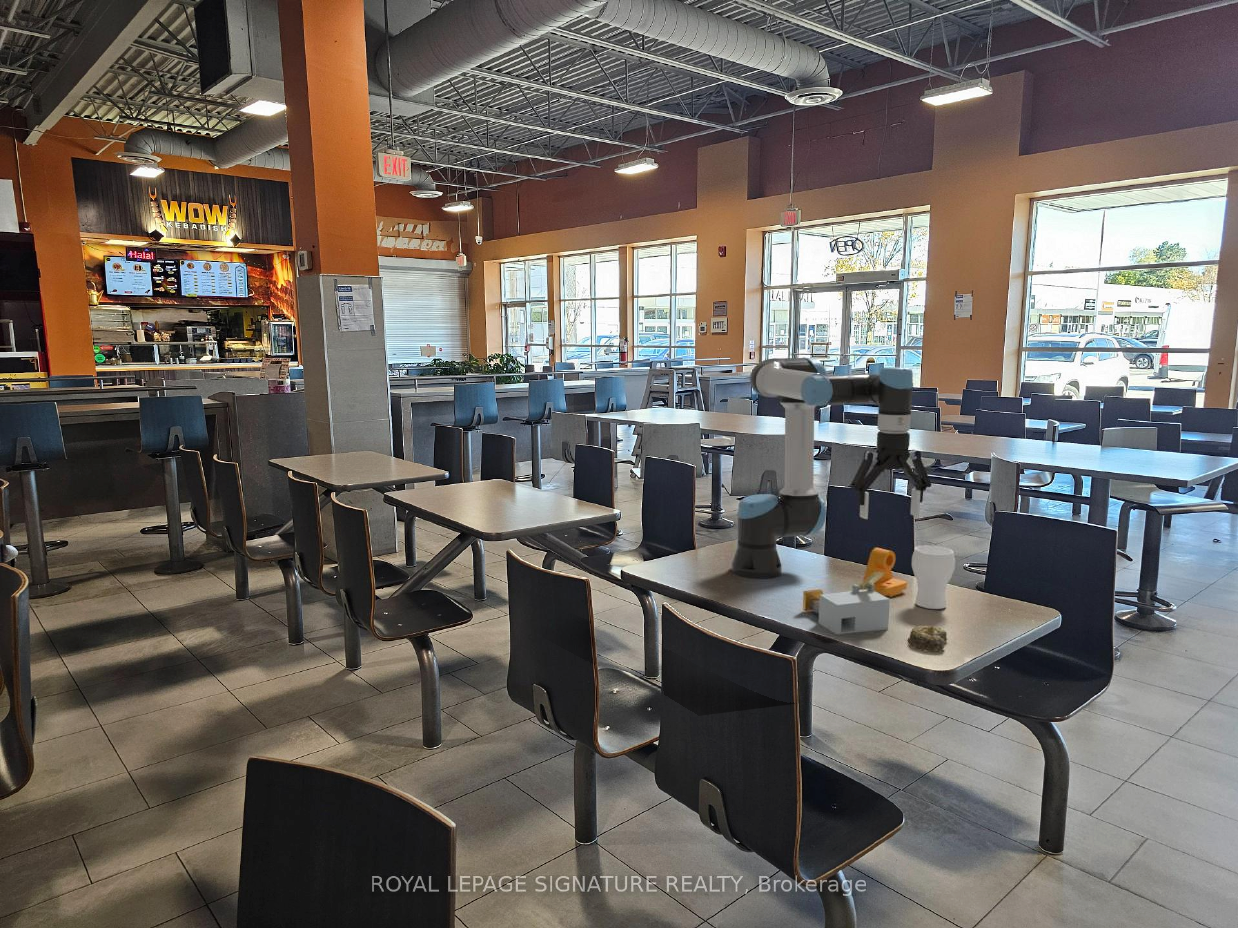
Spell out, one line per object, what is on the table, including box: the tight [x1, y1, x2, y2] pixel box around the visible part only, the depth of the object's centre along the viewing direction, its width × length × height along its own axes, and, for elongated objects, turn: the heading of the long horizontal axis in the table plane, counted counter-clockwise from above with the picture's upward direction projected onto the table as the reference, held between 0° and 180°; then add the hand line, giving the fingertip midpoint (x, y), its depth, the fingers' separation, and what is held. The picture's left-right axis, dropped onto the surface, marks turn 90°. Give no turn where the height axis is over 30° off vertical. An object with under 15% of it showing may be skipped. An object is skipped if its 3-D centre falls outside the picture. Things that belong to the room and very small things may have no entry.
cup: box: [911, 544, 956, 610], centre depth 209 cm, size 11×11×15 cm
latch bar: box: [857, 572, 884, 590], centre depth 193 cm, size 9×3×1 cm
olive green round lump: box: [906, 624, 949, 653], centre depth 181 cm, size 10×10×5 cm
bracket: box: [862, 547, 907, 598], centre depth 220 cm, size 11×7×12 cm, turn 126°
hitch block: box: [818, 583, 891, 635], centre depth 193 cm, size 8×14×10 cm, turn 106°
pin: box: [802, 589, 842, 622], centre depth 198 cm, size 12×5×5 cm, turn 16°
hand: (889, 516), depth 194 cm, fingers open, 13 cm apart
